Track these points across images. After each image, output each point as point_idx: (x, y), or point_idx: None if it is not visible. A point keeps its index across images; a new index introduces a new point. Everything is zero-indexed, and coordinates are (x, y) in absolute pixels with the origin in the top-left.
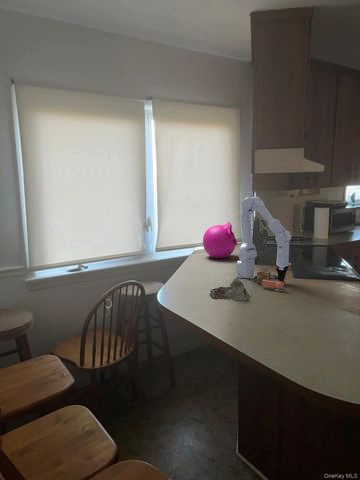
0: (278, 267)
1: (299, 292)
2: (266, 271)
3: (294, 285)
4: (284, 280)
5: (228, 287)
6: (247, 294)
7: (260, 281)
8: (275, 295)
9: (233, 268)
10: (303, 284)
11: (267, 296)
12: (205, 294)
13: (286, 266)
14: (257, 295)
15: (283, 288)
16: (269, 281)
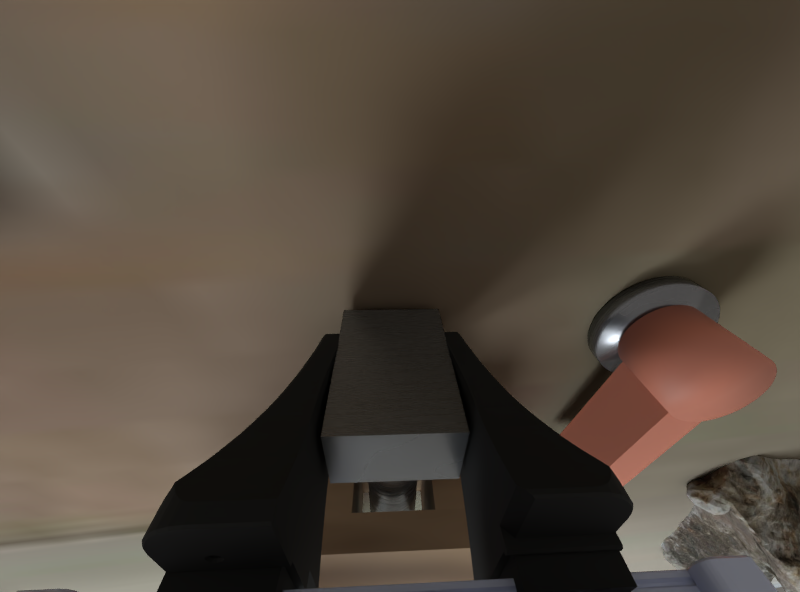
0: (319, 569)
1: (771, 96)
2: (438, 564)
3: (412, 184)
4: (368, 328)
5: (769, 578)
6: (777, 479)
7: None
8: (791, 338)
9: (122, 582)
10: (298, 24)
11: (795, 381)
12: (666, 561)
13: (283, 547)
14: (745, 430)
15: (682, 307)
16: (645, 462)
